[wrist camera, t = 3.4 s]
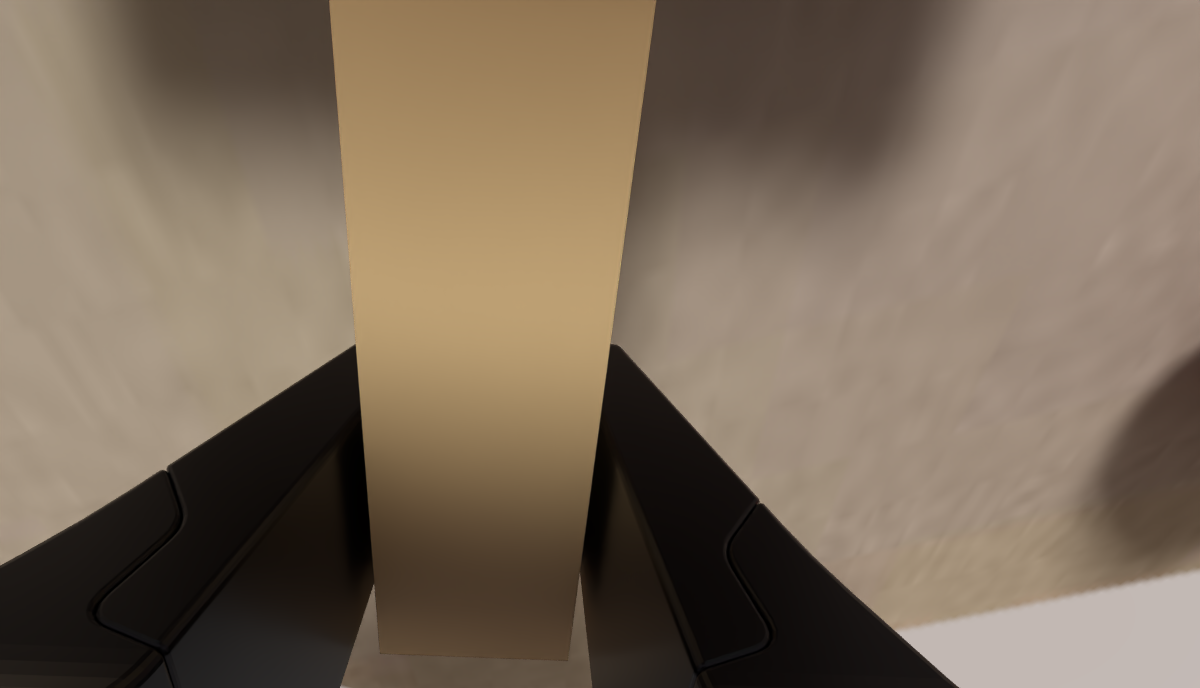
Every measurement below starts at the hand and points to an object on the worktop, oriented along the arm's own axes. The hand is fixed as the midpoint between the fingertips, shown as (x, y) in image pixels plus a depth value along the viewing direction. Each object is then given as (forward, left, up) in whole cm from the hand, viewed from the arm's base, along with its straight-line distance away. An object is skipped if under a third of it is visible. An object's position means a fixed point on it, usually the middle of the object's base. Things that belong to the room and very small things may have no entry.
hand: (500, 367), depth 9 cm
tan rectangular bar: (+5, 0, +1) cm, 5 cm away
